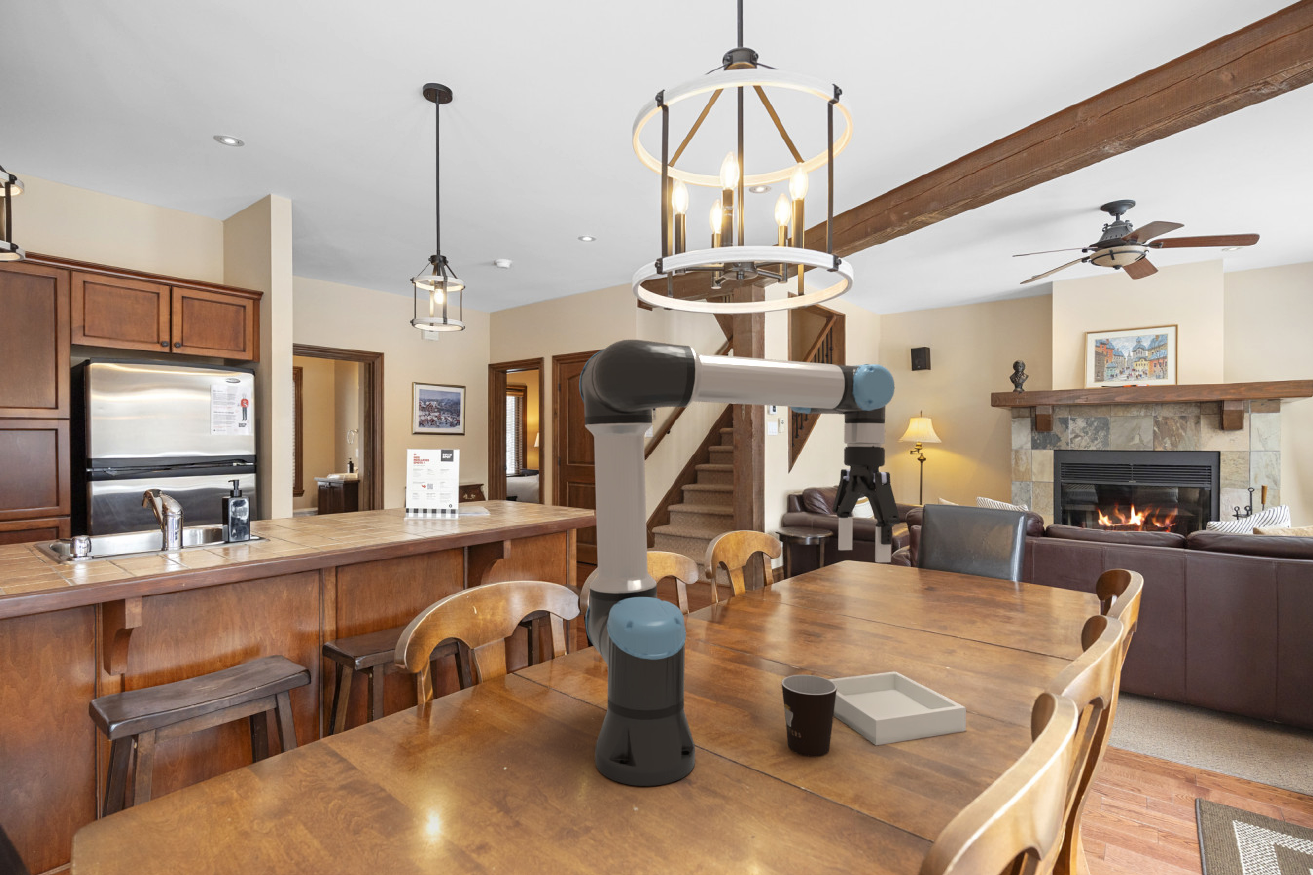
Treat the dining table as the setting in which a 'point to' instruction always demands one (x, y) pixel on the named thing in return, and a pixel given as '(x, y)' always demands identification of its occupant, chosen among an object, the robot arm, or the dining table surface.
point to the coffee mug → (808, 713)
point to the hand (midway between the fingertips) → (863, 555)
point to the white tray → (895, 708)
